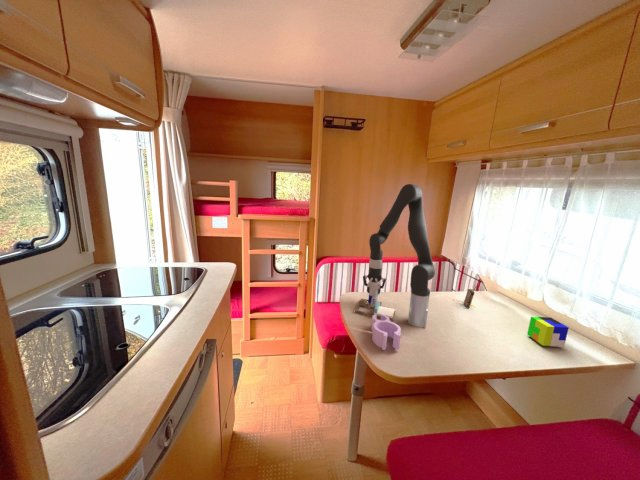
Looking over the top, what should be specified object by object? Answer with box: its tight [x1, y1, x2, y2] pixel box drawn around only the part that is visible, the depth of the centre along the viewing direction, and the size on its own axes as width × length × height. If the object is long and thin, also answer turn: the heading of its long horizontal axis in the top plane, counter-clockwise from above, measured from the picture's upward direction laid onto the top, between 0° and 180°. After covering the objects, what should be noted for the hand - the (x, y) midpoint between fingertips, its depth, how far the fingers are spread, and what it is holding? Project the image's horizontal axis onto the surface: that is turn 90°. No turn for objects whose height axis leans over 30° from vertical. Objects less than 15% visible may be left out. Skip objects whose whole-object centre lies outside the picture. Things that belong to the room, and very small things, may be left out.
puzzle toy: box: [526, 316, 569, 348], centre depth 130 cm, size 10×10×10 cm
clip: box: [371, 314, 402, 351], centre depth 126 cm, size 20×12×7 cm, turn 5°
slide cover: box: [374, 301, 396, 318], centre depth 149 cm, size 10×10×4 cm
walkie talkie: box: [451, 282, 479, 309], centre depth 165 cm, size 13×13×18 cm
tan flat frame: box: [353, 298, 396, 322], centre depth 155 cm, size 22×19×2 cm
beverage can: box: [367, 281, 380, 307], centre depth 159 cm, size 6×6×15 cm
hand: (373, 293), depth 159 cm, fingers closed on beverage can, 5 cm apart
